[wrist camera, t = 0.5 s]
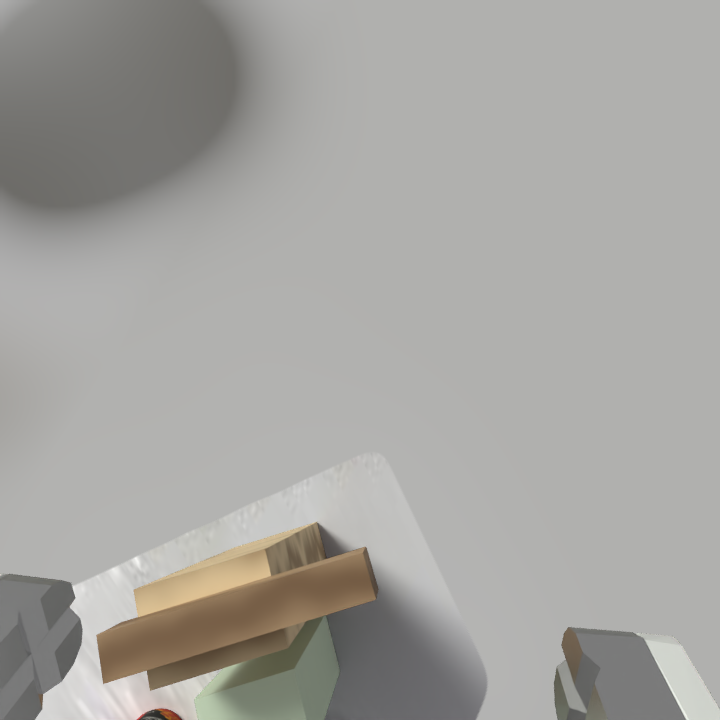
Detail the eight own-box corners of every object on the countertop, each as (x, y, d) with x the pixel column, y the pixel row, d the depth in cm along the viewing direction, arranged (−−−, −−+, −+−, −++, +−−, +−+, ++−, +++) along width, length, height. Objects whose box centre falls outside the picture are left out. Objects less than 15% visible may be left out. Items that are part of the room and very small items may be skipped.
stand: (332, 581, 65) (288, 648, 40) (247, 608, 65) (150, 690, 40) (316, 522, 67) (264, 549, 42) (234, 547, 67) (133, 589, 42)
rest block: (340, 671, 62) (313, 752, 44) (266, 693, 63) (209, 783, 44) (325, 613, 64) (294, 668, 46) (253, 635, 64) (194, 699, 46)
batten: (378, 589, 40) (376, 599, 37) (128, 666, 41) (103, 683, 37) (366, 546, 41) (362, 552, 38) (121, 622, 41) (96, 635, 38)
